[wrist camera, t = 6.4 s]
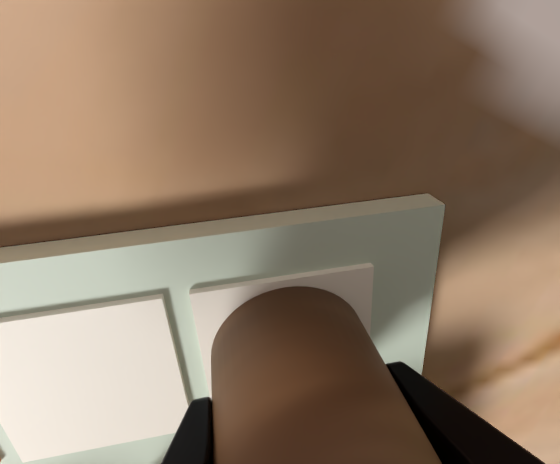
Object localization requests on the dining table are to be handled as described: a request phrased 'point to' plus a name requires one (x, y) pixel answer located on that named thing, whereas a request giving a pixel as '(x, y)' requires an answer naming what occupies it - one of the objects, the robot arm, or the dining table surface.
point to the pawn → (307, 387)
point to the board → (186, 316)
